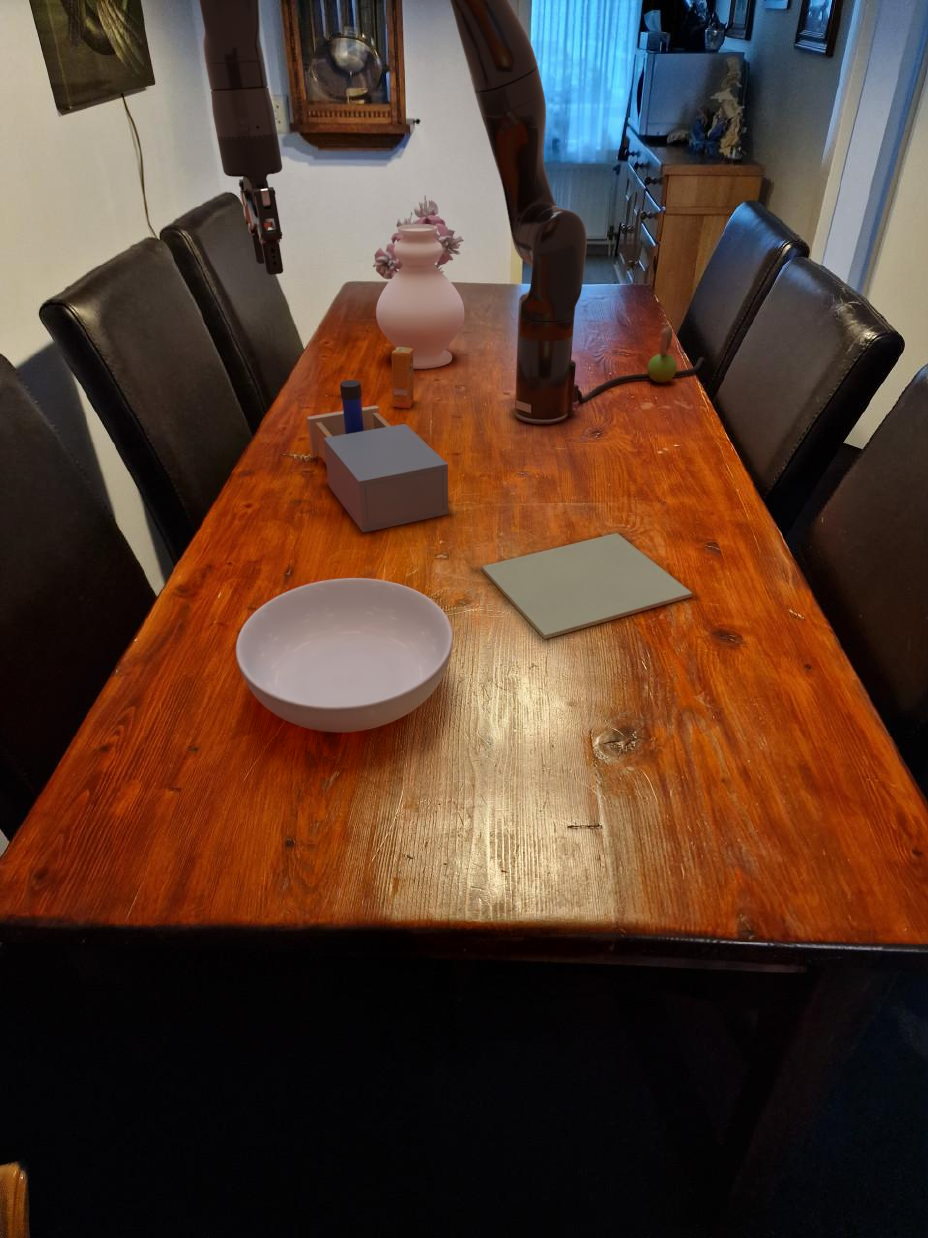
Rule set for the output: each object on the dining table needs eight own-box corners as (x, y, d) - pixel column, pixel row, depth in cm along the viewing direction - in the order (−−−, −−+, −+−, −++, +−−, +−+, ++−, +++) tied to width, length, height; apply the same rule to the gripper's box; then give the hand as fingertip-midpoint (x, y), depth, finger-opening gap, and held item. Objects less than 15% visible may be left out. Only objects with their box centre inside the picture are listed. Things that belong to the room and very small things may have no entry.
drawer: (303, 442, 132) (299, 407, 129) (369, 430, 136) (367, 396, 133) (338, 488, 118) (334, 451, 115) (411, 474, 122) (410, 437, 119)
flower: (343, 301, 201) (355, 207, 180) (413, 277, 212) (431, 186, 191) (394, 353, 195) (412, 262, 175) (463, 325, 206) (487, 236, 186)
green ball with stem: (642, 386, 156) (650, 321, 149) (648, 375, 161) (657, 312, 154) (670, 389, 154) (680, 324, 147) (676, 379, 159) (686, 315, 152)
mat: (616, 536, 109) (617, 532, 108) (691, 597, 97) (692, 592, 96) (481, 570, 102) (481, 565, 101) (544, 639, 90) (544, 635, 89)
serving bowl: (272, 790, 72) (261, 732, 68) (229, 656, 88) (217, 603, 84) (487, 725, 79) (488, 669, 75) (411, 611, 94) (408, 560, 90)
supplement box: (410, 408, 146) (408, 352, 141) (392, 407, 147) (389, 351, 141) (415, 402, 149) (413, 347, 143) (397, 401, 150) (394, 345, 144)
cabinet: (328, 486, 121) (323, 437, 117) (407, 470, 125) (405, 423, 121) (363, 533, 109) (358, 481, 105) (448, 514, 114) (448, 463, 109)
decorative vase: (481, 362, 168) (482, 229, 153) (407, 378, 159) (401, 240, 145) (434, 341, 180) (431, 216, 165) (363, 355, 171) (354, 225, 157)
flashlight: (362, 447, 127) (356, 378, 121) (369, 454, 125) (363, 384, 119) (344, 451, 126) (337, 381, 120) (350, 458, 124) (343, 388, 118)
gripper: (286, 131, 99) (307, 274, 108) (266, 126, 110) (287, 256, 119) (224, 136, 96) (250, 281, 106) (210, 130, 108) (235, 262, 117)
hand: (269, 267), depth 112 cm, fingers open, 8 cm apart
